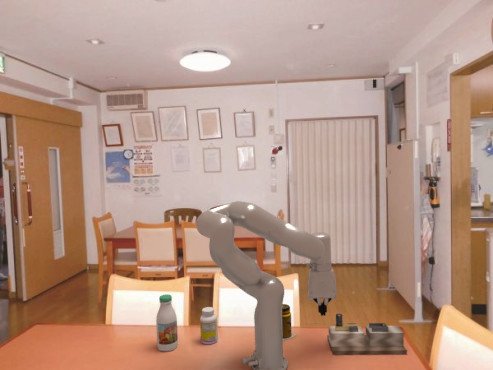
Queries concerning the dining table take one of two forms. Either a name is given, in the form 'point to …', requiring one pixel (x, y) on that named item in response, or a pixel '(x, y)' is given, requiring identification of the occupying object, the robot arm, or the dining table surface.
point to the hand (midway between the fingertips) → (322, 314)
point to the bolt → (340, 325)
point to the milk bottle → (166, 325)
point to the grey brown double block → (366, 341)
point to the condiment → (286, 322)
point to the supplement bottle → (208, 326)
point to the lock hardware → (375, 327)
